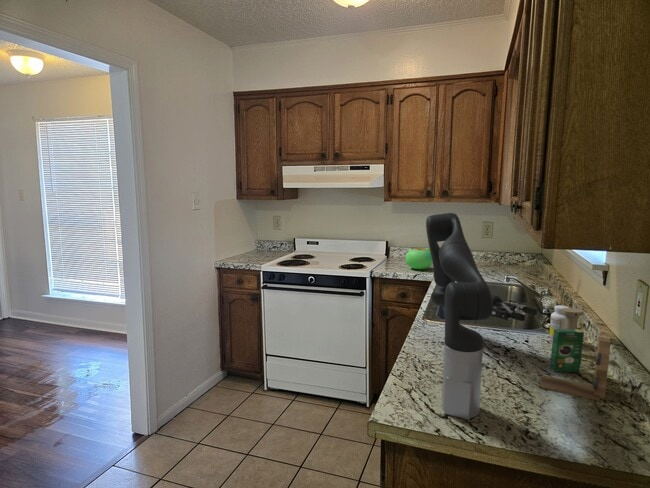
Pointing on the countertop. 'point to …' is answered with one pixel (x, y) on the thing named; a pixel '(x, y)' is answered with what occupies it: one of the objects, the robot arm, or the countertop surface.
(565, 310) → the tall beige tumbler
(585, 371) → the countertop surface
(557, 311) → the supplement bottle
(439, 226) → the robot arm
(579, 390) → the wooden l-shaped bracket
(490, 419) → the countertop surface
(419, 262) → the green round pot
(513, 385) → the countertop surface
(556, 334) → the coffee box
